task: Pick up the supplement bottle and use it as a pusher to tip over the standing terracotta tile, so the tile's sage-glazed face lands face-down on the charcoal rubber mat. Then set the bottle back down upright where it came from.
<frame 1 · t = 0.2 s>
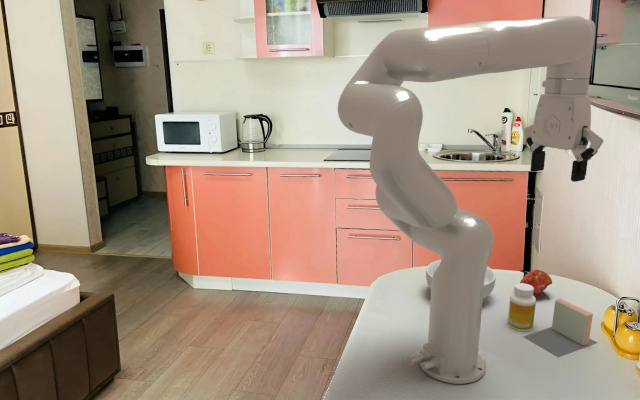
hand: (556, 175, 105), 36 cm above the table, tool pointing down, fingers open, 9 cm apart
supplement bottle: (519, 327, 119), on the table
rubber mat: (559, 341, 113), on the table
pomegranate: (535, 297, 133), on the table
cereal bowl: (458, 297, 134), on the table
tile: (569, 336, 114), resting on rubber mat
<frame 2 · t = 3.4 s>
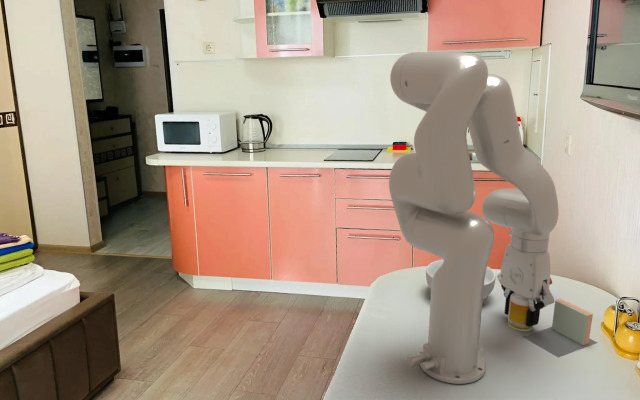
hand: (520, 318, 118), 2 cm above the table, tool pointing down, fingers closed on supplement bottle, 5 cm apart
supplement bottle: (520, 327, 119), on the table, touching gripper
everything else where it was.
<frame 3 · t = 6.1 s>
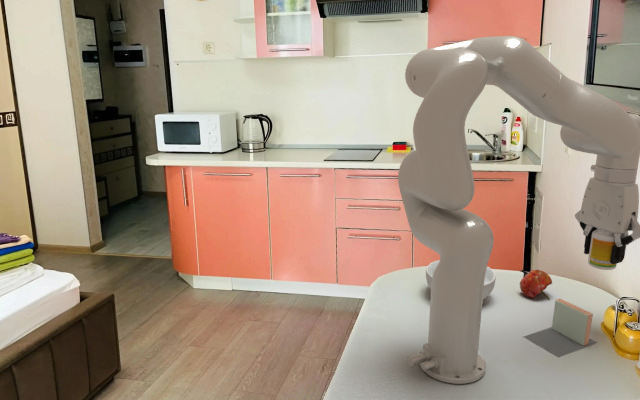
hand: (602, 256, 113), 17 cm above the table, tool pointing down, fingers closed on supplement bottle, 5 cm apart
supplement bottle: (601, 266, 113), point 15 cm above the table, touching gripper
everything else where it was.
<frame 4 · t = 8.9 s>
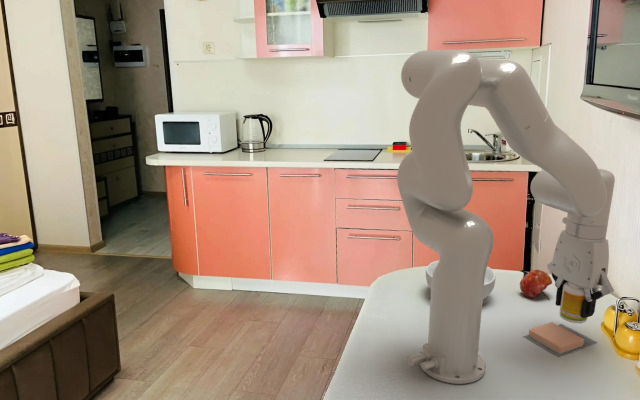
hand: (573, 309, 112), 7 cm above the table, tool pointing down, fingers closed on supplement bottle, 5 cm apart
supplement bottle: (572, 318, 113), point 4 cm above the table, touching gripper
tile: (567, 333, 113), point 1 cm above the table, tilted 90°, touching rubber mat
everything else where it was.
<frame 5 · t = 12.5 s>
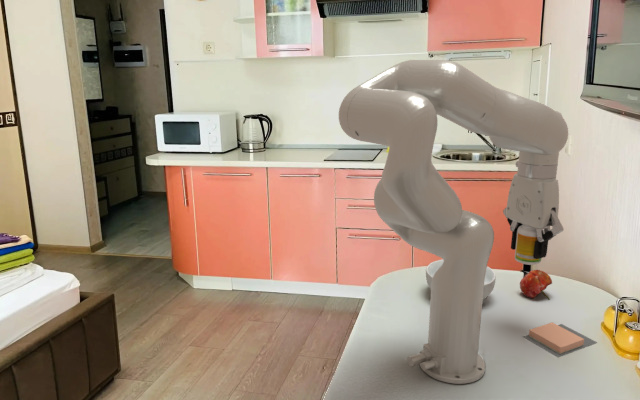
hand: (528, 252, 114), 18 cm above the table, tool pointing down, fingers closed on supplement bottle, 5 cm apart
supplement bottle: (527, 261, 115), point 16 cm above the table, touching gripper
everything else where it was.
when the fingers open (3 cm above the table, at t = 15.5 s): supplement bottle stays where it is, on the table.
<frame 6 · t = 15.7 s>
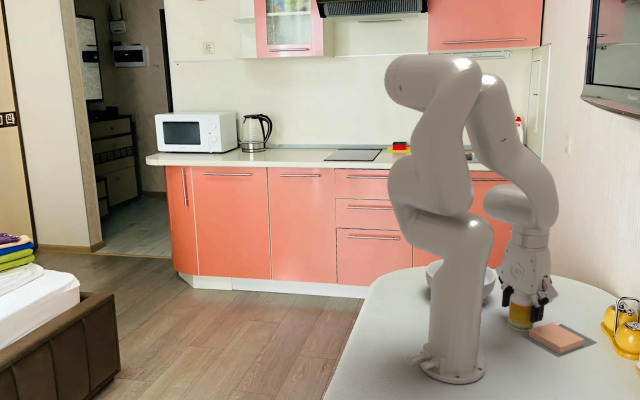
hand: (521, 312, 118), 3 cm above the table, tool pointing down, fingers open, 7 cm apart
supplement bottle: (519, 327, 119), on the table
everything else where it was.
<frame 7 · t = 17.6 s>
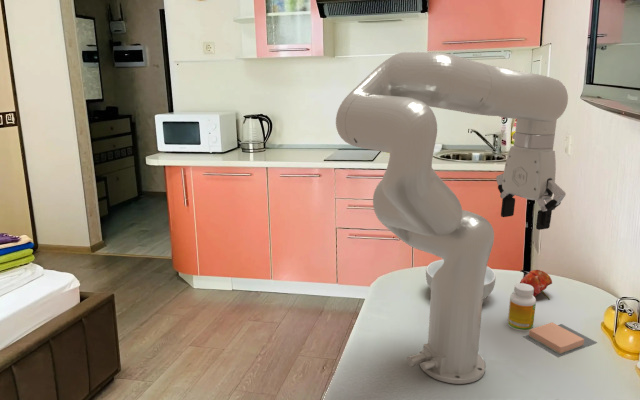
hand: (524, 222, 112), 25 cm above the table, tool pointing down, fingers open, 9 cm apart
nothing on the table moved.
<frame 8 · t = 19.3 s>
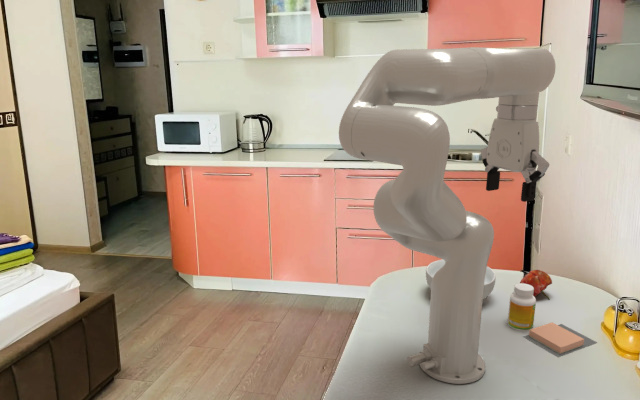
hand: (509, 195, 112), 30 cm above the table, tool pointing down, fingers open, 9 cm apart
nothing on the table moved.
at the end: tile tilted 90°; supplement bottle 0.1 cm from the target spot, on the table; supplement bottle tilted 0° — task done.
